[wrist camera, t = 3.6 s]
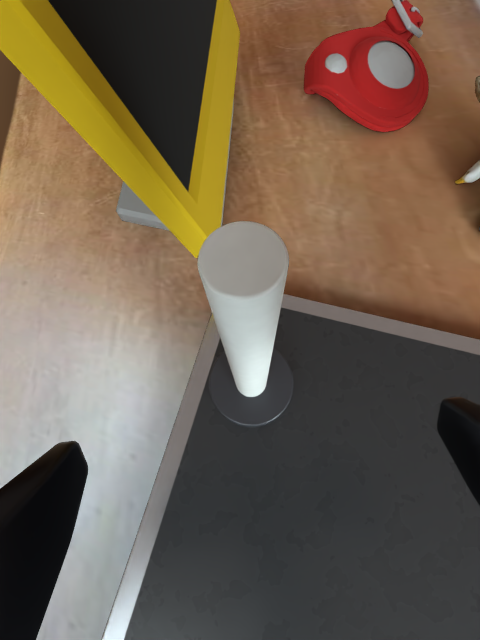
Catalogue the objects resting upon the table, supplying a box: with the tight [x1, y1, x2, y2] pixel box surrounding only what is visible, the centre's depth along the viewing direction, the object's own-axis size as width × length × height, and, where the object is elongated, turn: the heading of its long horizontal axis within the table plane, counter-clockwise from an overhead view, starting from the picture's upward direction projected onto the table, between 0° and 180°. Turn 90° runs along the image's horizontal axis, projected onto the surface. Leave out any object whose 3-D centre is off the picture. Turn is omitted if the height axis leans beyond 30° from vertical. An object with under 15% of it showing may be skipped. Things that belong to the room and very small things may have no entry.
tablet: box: [101, 294, 480, 640], centre depth 16 cm, size 24×18×1 cm
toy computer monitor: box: [0, 0, 240, 258], centre depth 18 cm, size 20×8×16 cm, turn 176°
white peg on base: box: [198, 221, 294, 427], centre depth 12 cm, size 4×4×13 cm
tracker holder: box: [304, 0, 429, 132], centre depth 26 cm, size 12×4×10 cm
